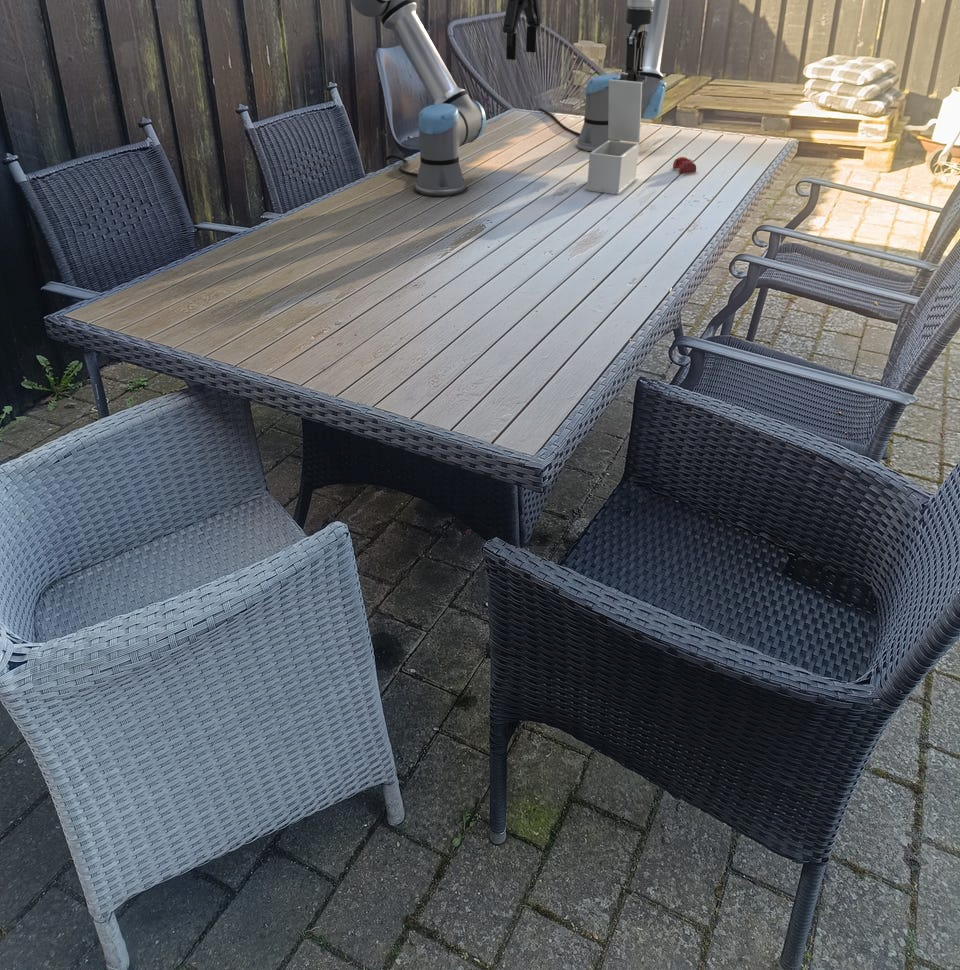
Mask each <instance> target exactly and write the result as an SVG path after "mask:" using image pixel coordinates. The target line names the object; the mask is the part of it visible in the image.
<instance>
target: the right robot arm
mask: <svg viewBox="0 0 960 970" xmlns="http://www.w3.org/2000/svg"><path fill="white" fill-rule="evenodd" d="M626 2H627V3H626V6H627V7H628V8H627V9H626V15H625V16H626V17H625V23H626V24H627V25H631V27H630V31H629V34H628V36H626V55H625V56H626V57H625V58H626V60H625V71H624V74H628V78H627V81H635V82H637V75H640V76H647V80H646V82H644V83H643V84H642V100H641V119H642V120H645V119H650V120H652V119H653V120H654V119H656V118H657V117H658V116H659V115H660V113H661V110H662V107H663V104H664V100H665V96H666V91H667V82H666V81H664V75H663V73H661V63H662V57H663V49H664V43H665V42H664V41H665V35H666V29H667V21H668V14H669V5H670V0H627V1H626ZM620 75H621V74H619V73H607V74H606V73H605V74H600V75H596V76H593V77H590V78H589V79H588V80H587V83H586V87H585V89H586V90H585V101H584V102H585V103H584V117H583V118H584V119H583V125H582V128H581V131H580V132H577V131H575V130H572V129H571V128H569V127H567V126H566V125H564V124H563V123H562V122H561V121H559V119H557V117H556V116H555V115H554V114H552V112H549V111H548V110H546V109H544V108H542V107H539V108H538V111H540V112H541V113H544V114H546V115H548V116H549V117H550V118H551V119H553V121H555V122H556V124H558V126H559V127H560V128H562V129H563V130H565V131H566V132H568V133H570V134H573V135H575V136H578V139H577V143H576V144H577V145H576V146H577V148H578V149H580V150H582V151H586V152H589V153H591V152H592V151H594V150H595V149H597V148H598V147H599V146H601V145H602V144H604V143H605V142H607V141H608V140H611V141H619V142H622V141H620V140H612V139H608V111H609V80H610V79H613V80H619V78H620ZM624 81H625V80H624Z"/></svg>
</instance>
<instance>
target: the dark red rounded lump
mask: <svg viewBox="0 0 960 970" xmlns="http://www.w3.org/2000/svg"><path fill="white" fill-rule="evenodd" d="M672 170H678V173H679V174H690V173H691V174H692V173H696V172H697V165H696V163H695V161H694V160H693V159H691V158H688V157H686V156H679V157H677V158H676V159H674V161H673V164H672Z"/></svg>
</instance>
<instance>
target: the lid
mask: <svg viewBox="0 0 960 970" xmlns="http://www.w3.org/2000/svg"><path fill="white" fill-rule="evenodd" d="M619 75H620V78H619V80H613V79H610V80H609V111H608V139H612V140H620V141H621V142H628V143H637V144H640V142H641V124H642V123H641V122H642V118H641V100H642V84H643V83H644V82H646V80H647V76H640V75H637V82H635V81H627V78H628V73H620V74H619ZM624 80H625V81H624Z"/></svg>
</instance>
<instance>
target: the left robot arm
mask: <svg viewBox="0 0 960 970" xmlns="http://www.w3.org/2000/svg"><path fill="white" fill-rule="evenodd" d="M349 1H350V3H351V5H352V7H353V8H354V10H355V11H356V12H357V13H359V14H360V15H361V16H363V17H367V18H368V17H369V18H374V17H375V18H376V17H378V19H379V20H380V23H381V24H382V26H383V28H384V29H387V30H391V31H392V33H393V34H394V36H395V38H396V40H397V42H399V45H400V46H401V48H402V50H403V52H404V54H405V55H406V58H407V59H408V61H409V62H410V64H411V66H412V67H413V69H414V71H415V73H416V74H417V76H418V78H419V80H420V81H421V83H422V85H423V87H424V88H425V90H426V92H427V94H428V95H429V98H430V99H431V101H432V102H433V104H429V105H428V106H425V107H424V108H422V109H421V110H420V112H419V113H418V122H417V123H418V126H417V127H418V136H419V138H418V139H419V157H420V158H419V159H420V161H419V162H420V164H419V168H418V172H412V171H407V170H405V169H404V168H406V167H407V166H408V165H409V161H408V160H407V159H406V158H404V157H402V156H400V155H397V154H389V155H388V156H386V157H385V160H386V161H389V160H390V159H397V160H399V161H402V162H403V164H401V165H400V166H399V168H398V170H399V172H400V173H402V174H403V175H407V176H411V177H415V178H416V180H415V183H414V184H415V185H414V186H415V192H417V193H418V194H420V195H424V196H430V197H450V196H455V195H459V194H461V193H463V192H464V191H466V181H465V179H464V176H463V172H462V169H461V165H460V147H463V146H465V145H467V144H470V143H473V142H475V141H476V140H477V139H479V138H481V136H482V135H483V133H484V131H485V130H486V129H485V128H486V123H487V116H486V112H485V109H484V107H483V106H482V104H481V103H480V102H479V101H477V100H474V99H472V98H470V96H469V94H468V93H467V91H466V89H464V88H461V87H458V85H457V83H456V82H455V80H454V78H453V77H452V74H451V73H450V71H449V69H448V68H447V65H446V64H445V62H444V60H443V59H442V57H441V55H440V53H439V52H438V50H437V48H436V46H435V45H434V43H433V41H432V39H431V38H430V36H429V34H428V32H427V30H426V29H425V26H424V25H423V23H422V21H421V20H420V18H419V16H418V14H417V7H418V4H417V2H416V0H349ZM538 1H539V0H507V5H506V12H505V14H504V15H505V16H504V20H503V26H502V32H503V33H504V34H506V60H510V61H511V60H512V61H516V60H517V48H518V47H517V45H518V33H517V32H516V31H517V28H518V25H519V22H520V18H521V15H522V12H523V11H524V15H525V18H526V22H527V25H528V26H526V37H525V38H526V39H525V41H526V43H525V52H526V53H536V52H537V29H538V27H540V26H541V15H540V9H539V2H538Z"/></svg>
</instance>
